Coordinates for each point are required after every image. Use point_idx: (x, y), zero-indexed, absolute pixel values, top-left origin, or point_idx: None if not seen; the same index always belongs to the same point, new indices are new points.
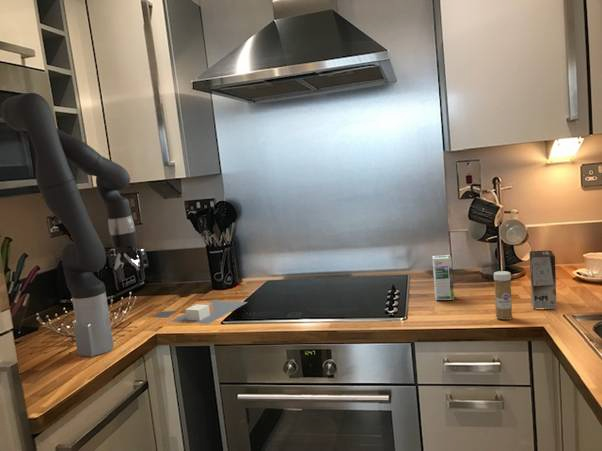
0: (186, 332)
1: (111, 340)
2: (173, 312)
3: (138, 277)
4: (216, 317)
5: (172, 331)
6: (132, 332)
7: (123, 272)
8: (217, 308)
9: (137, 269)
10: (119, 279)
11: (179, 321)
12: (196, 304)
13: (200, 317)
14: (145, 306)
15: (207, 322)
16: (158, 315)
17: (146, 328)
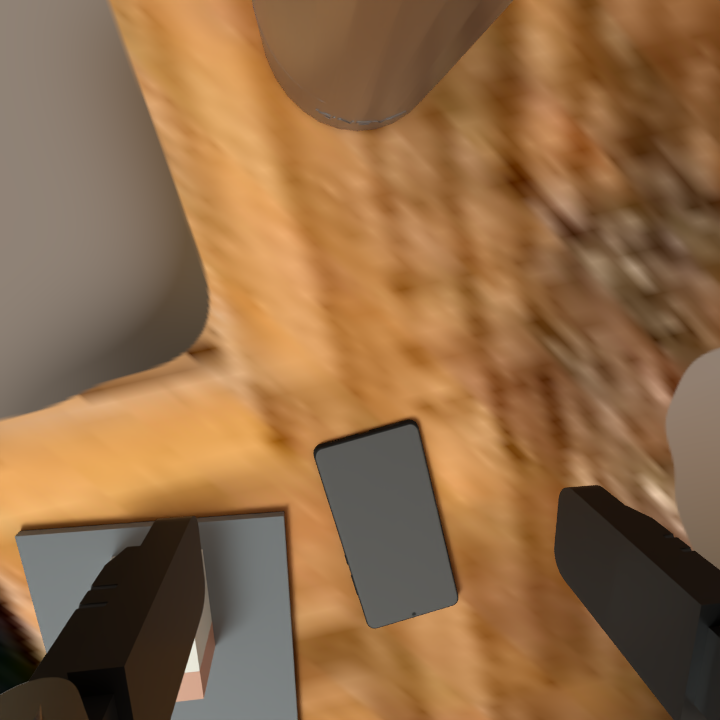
0: (50, 413)
1: (268, 52)
2: (371, 609)
3: (156, 553)
4: (57, 613)
5: (150, 405)
6: (382, 337)
7: (619, 642)
8: (175, 707)
9: (52, 697)
10: (581, 492)
11: (223, 520)
12: (195, 670)
13: None
14: (610, 642)
15: (39, 546)
16: (423, 558)
17: (349, 406)
